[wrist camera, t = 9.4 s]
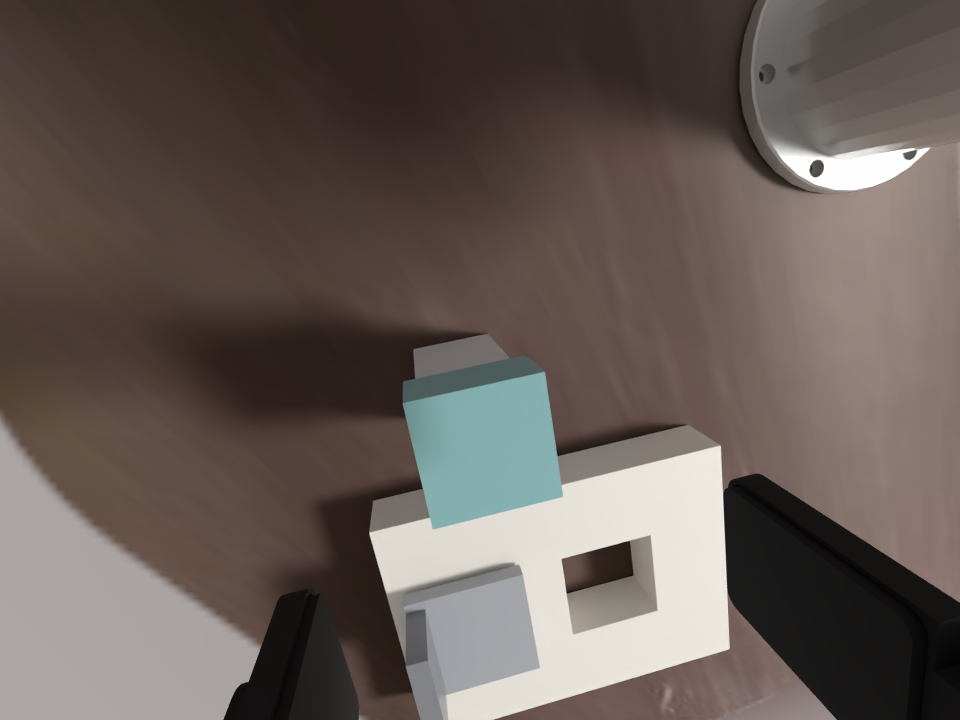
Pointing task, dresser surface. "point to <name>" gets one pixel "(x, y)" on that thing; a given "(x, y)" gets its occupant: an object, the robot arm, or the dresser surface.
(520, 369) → the plug
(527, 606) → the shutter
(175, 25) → the dresser surface
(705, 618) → the socket
